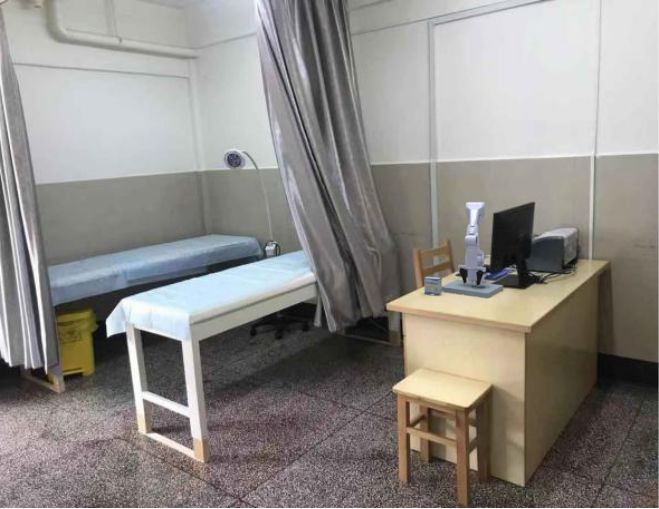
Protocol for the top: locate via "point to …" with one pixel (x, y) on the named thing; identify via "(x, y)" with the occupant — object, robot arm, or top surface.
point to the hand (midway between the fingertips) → (471, 283)
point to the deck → (472, 288)
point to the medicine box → (433, 285)
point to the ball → (474, 283)
